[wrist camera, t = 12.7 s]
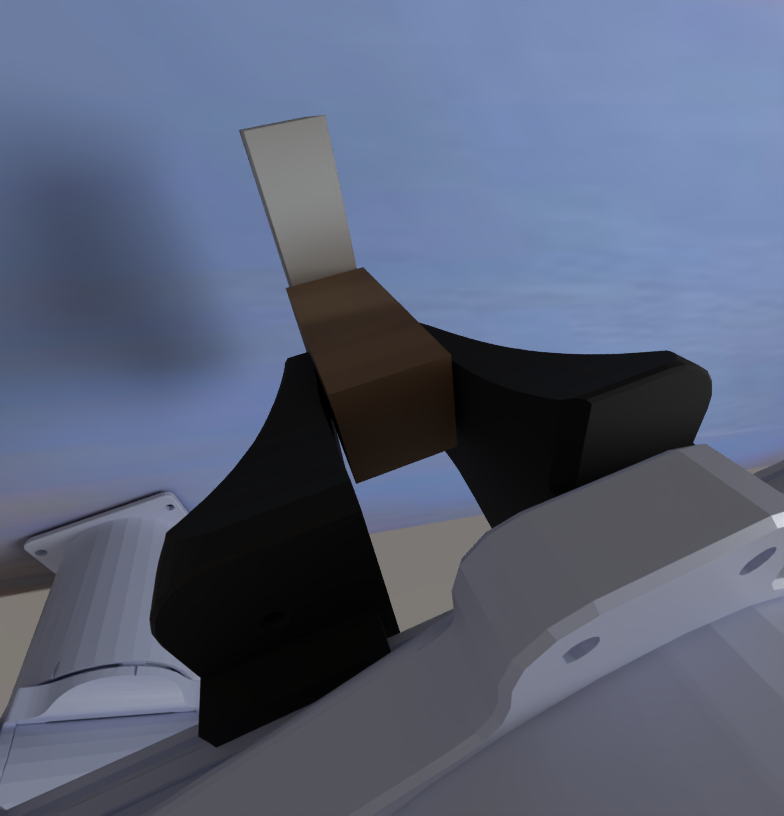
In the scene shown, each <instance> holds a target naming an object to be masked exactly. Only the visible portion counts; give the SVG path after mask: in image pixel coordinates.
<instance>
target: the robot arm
mask: <svg viewBox="0 0 784 816" xmlns="http://www.w3.org/2000/svg"><path fill="white" fill-rule="evenodd" d="M420 324H421V325H422V326H423V327H424V328H425V329H426V330H427V331H428V332H429V333H430V334H431V335H432V336H433V337H434V338H435V339H436V340H437V341H438V342H439V343H440V344H441V345H442V346H443V347H444V348H445V349H446V350H447V351H448V352H449V353H450V354H451V360H452V375H453V390H454V405H455V419H456V434H457V447H454V448H451V449H449V450H446V451H445V452H446V453H447V454H448V456H449V457H450V458H451V460H452V461H453V463H454V464H455V466H456V467H457V469H458V470H459V472H460V473H461V475H462V477H463V478H464V480H465V482H466V483H467V485H468V487H469V489H470V490H471V492H472V494H473V496H474V497H475V499H476V501H477V503H478V504H479V506H480V508H481V510H482V512H483V513H484V515H485V517H486V519H487V521H488V522H489V524H490V526H491V528H492V529H491V530H489V531H487V532H486V533H485V534H484V535H483V536H482V537H481V538H480V539H479V540H478V541H477V543H476V544H475V545H474V546H473V547H472V548H471V549H470V550H469V551H468V552H467V553H466V555H465V556H464V557H463V558H462V560H461V563H460V565H459V568H458V572H457V575H456V578H455V582H454V585H453V589H452V597H453V606H454V609H452V610H450V611H447V612H445V613H443V614H441V615H439V616H437V617H434V618H432V619H430V620H427V621H425V622H423V623H421V624H419V625H416V626H414V627H412V628H410V629H407V630H405V631H403V632H401V633H400V631H399V628H398V624H397V621H396V618H395V615H394V612H393V609H392V606H391V603H390V599H389V596H388V593H387V589H386V586H385V583H384V580H383V577H382V574H381V570H380V567H379V564H378V561H377V558H376V555H375V552H374V548H373V545H372V542H371V539H370V536H369V533H368V530H367V526H366V523H365V520H364V517H363V514H362V511H361V508H360V505H359V502H358V499H357V497H356V494H355V491H354V489H353V486H352V483H351V480H350V478H349V476H348V473H347V471H346V468H345V465H344V460H343V456H342V452H341V448H340V444H339V440H338V436H337V432H336V429H335V426H334V424H333V421H332V418H331V416H330V412H329V409H328V406H327V403H326V400H325V397H324V394H323V391H322V387H321V384H320V381H319V378H318V375H317V372H316V369H315V366H314V363H313V360H312V358H311V356H310V354H309V352H306V353H303V354H300V355H297V356H293V357H290V358H288V359H287V361H286V362H285V368H284V373H283V377H282V381H281V384H280V387H279V390H278V393H277V396H276V399H275V402H274V404H273V406H272V409H271V411H270V413H269V415H268V418H267V420H266V422H265V424H264V426H263V427H262V429H261V431H260V433H259V434H258V436H257V438H256V439H255V441H254V443H253V444H252V446H251V447H250V448H249V449H248V451H247V452H246V453H245V455H244V456H243V457H242V459H241V460H240V461H239V463H238V464H237V465H236V466H235V468H234V469H233V470H232V471H231V472H230V473H229V474H228V476H227V477H226V478H225V479H224V480H223V481H222V482H221V483H220V484H219V485H218V486H217V487H216V488H215V489H214V490H213V491H212V492H211V493H210V494H209V495H208V496H207V497H206V498H205V499H204V500H203V501H202V502H201V503H200V504H199V505H198V506H196V507H195V508H194V509H193V510H192V511H191V512H190V513H188V512H187V511H186V509H185V508H184V507H183V505H182V504H181V503H180V501H179V500H178V499H177V497H176V496H175V495H174V494H173V493H171V492H162V493H159V494H156V495H153V496H150V497H147V498H144V499H141V500H139V501H136V502H133V503H130V504H127V505H124V506H121V507H118V508H115V509H112V510H110V511H107V512H104V513H101V514H98V515H95V516H92V517H89V518H86V519H83V520H81V521H78V522H75V523H72V524H69V525H66V526H63V527H60V528H57V529H54V530H51V531H49V532H46V533H43V534H40V535H37V536H34V537H31V538H29V539H28V540H27V541H26V542H25V544H24V549H25V551H27V552H28V553H29V554H31V555H32V556H33V557H34V558H36V559H37V560H38V561H40V562H41V563H42V564H43V565H45V566H46V567H47V568H48V569H50V570H51V571H52V572H54V573H55V574H56V576H55V579H54V581H53V584H52V587H51V589H50V592H49V595H48V598H47V600H46V603H45V606H44V608H43V611H42V614H41V616H40V619H39V622H38V625H37V627H36V630H35V633H34V635H33V638H32V641H31V644H30V646H29V649H28V651H27V654H26V657H25V659H24V662H23V665H22V668H21V670H20V673H19V676H18V679H17V681H16V684H15V686H14V689H13V692H12V695H11V697H10V700H9V703H8V705H7V707H6V709H5V711H4V713H3V714H2V716H1V718H0V816H784V460H783V461H781V462H778V463H776V464H774V465H772V466H770V467H767V468H765V469H763V470H761V471H758V472H756V473H754V474H751V473H750V472H748V471H747V470H745V469H744V468H742V467H741V466H739V465H738V464H736V463H734V462H733V461H731V460H730V459H728V458H727V457H725V456H724V455H722V454H721V453H719V452H718V451H716V450H714V449H713V448H711V447H710V446H708V445H707V444H700V445H695V444H694V443H693V441H694V439H695V437H696V434H697V432H698V430H699V427H700V425H701V423H702V420H703V418H704V416H705V413H706V411H707V409H708V406H709V402H710V399H711V396H712V380H711V378H710V376H709V373H708V371H707V370H705V369H704V368H702V367H700V366H699V365H697V364H695V363H693V362H691V361H689V360H687V359H685V358H683V357H681V356H679V355H677V354H675V353H673V352H671V351H654V352H639V353H625V354H562V353H548V352H537V351H528V350H522V349H515V348H509V347H503V346H498V345H494V344H489V343H485V342H481V341H477V340H474V339H470V338H466V337H463V336H460V335H456V334H453V333H450V332H447V331H444V330H441V329H438V328H435V327H432V326H429V325H426V324H422V323H420ZM169 504H171V505H172V506H167V505H169Z"/></svg>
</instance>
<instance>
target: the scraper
mask: <svg viewBox="0 0 784 816" xmlns="http://www.w3.org/2000/svg"><path fill="white" fill-rule="evenodd" d="M239 132H240V135H241V138H242V141H243V144H244V147H245V150H246V153H247V156H248V160H249V163H250V166H251V169H252V172H253V175H254V178H255V181H256V185H257V188H258V191H259V194H260V197H261V200H262V203H263V206H264V210H265V213H266V216H267V219H268V222H269V225H270V228H271V231H272V235H273V238H274V241H275V244H276V247H277V250H278V253H279V256H280V260H281V263H282V266H283V269H284V272H285V275H286V278H287V281H288V285H289V288H286V290H287V293H288V296H289V299H290V303H291V306H292V309H293V312H294V315H295V318H296V321H297V324H298V327H299V330H300V333H301V336H302V339H303V342H304V345H305V348H306V352H309V354H310V356H311V358H312V360H313V363H314V366H315V369H316V372H317V375H318V378H319V381H320V384H321V387H322V391H323V394H324V397H325V400H326V403H327V406H328V409H329V412H330V416H331V418H332V421H333V424H334V426H335V429H336V432H337V434H338V437H339V440H340V442H341V445H342V447H343V450H344V453H345V455H346V458H347V461H348V463H349V466H350V469H351V471H352V474H353V477H354V479H355V482H356V484H357V483H360V482H362V481H365V480H368V479H371V478H373V477H376V476H379V475H381V474H384V473H387V472H389V471H392V470H395V469H397V468H400V467H403V466H406V465H408V464H411V463H414V462H416V461H419V460H422V459H424V458H427V457H430V456H432V455H435V454H438V453H441V452H443V451H446V450H449V449H451V448H454V447H457V434H456V419H455V405H454V390H453V375H452V360H451V354H450V353H449V352H448V351H447V350H446V349H445V348H444V347H443V346H442V345H441V344H440V343H439V342H438V341H437V340H436V339H435V338H434V337H433V336H432V335H431V334H430V333H429V332H428V331H427V330H426V329H425V328H424V327H423V326H422V325H421V324H420V323H419V322H418V321H417V320H416V319H415V318H414V317H413V316H412V315H411V314H410V313H409V312H408V311H407V310H406V309H405V308H404V307H403V306H402V305H401V304H400V303H399V302H397V301H396V300H395V299H394V298H393V297H392V296H391V295H390V294H389V293H388V292H387V291H386V290H385V289H384V288H383V287H382V286H381V285H380V284H379V283H378V282H377V281H376V280H375V279H374V278H373V277H372V276H371V275H370V274H369V273H368V272H367V271H366V270H365V269H364V268H363V267H362V268H359V269H357V267H356V262H355V257H354V253H353V248H352V243H351V238H350V233H349V228H348V223H347V219H346V214H345V209H344V204H343V199H342V194H341V189H340V185H339V180H338V175H337V170H336V165H335V160H334V155H333V151H332V146H331V141H330V136H329V131H328V126H327V121H326V117H325V115H321V116H311V117H303V118H298V119H293V120H288V121H283V122H277V123H272V124H267V125H262V126H257V127H252V128H247V129H242V130H239Z"/></svg>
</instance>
